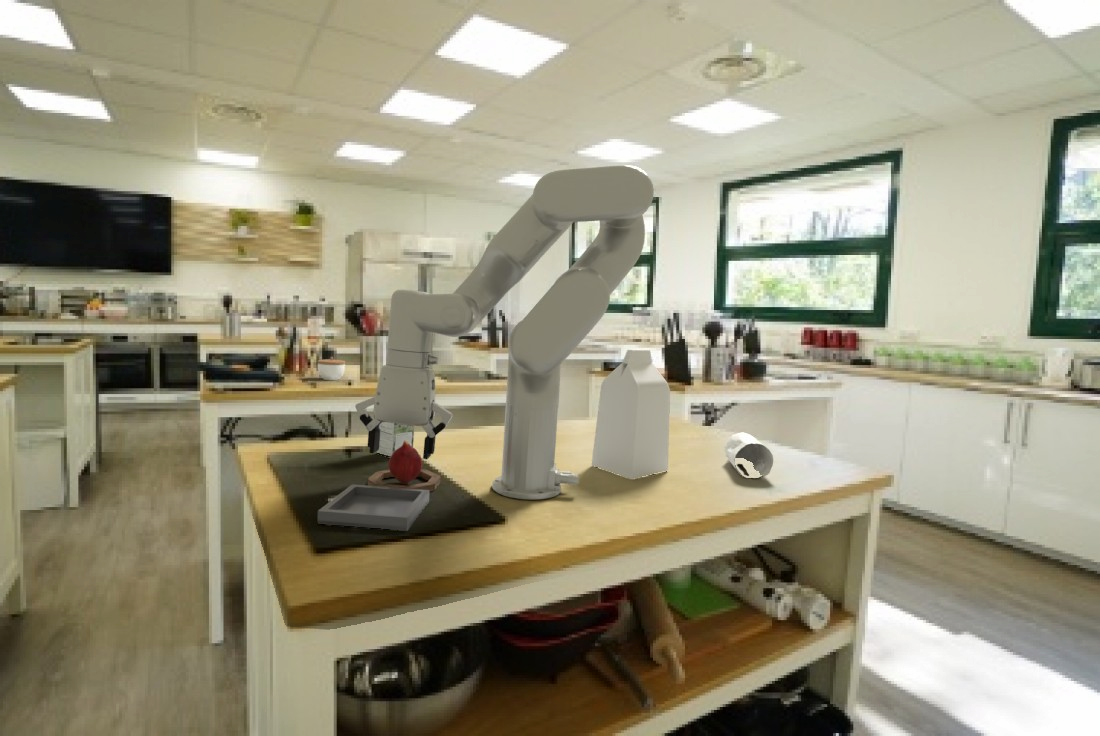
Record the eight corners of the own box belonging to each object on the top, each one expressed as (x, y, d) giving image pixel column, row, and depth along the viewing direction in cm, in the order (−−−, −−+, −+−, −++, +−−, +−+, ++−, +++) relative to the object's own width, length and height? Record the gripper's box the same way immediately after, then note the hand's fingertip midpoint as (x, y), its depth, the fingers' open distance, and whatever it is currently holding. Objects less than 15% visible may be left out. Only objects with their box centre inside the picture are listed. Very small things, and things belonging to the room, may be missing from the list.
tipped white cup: (751, 460, 140) (754, 428, 139) (771, 481, 121) (775, 445, 120) (718, 457, 141) (721, 425, 140) (733, 478, 122) (736, 441, 121)
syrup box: (396, 449, 127) (398, 385, 126) (414, 454, 124) (416, 388, 123) (374, 453, 123) (377, 387, 121) (392, 459, 119) (395, 390, 118)
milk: (631, 479, 116) (641, 352, 113) (591, 466, 124) (600, 347, 122) (667, 471, 124) (678, 352, 121) (627, 459, 132) (636, 347, 130)
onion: (427, 483, 105) (429, 440, 104) (407, 491, 99) (409, 446, 99) (402, 477, 107) (404, 435, 106) (381, 485, 102) (382, 441, 101)
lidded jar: (312, 378, 234) (312, 355, 233) (336, 377, 242) (337, 355, 241) (325, 381, 227) (326, 358, 226) (350, 380, 235) (350, 357, 234)
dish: (429, 501, 95) (429, 490, 94) (407, 531, 82) (407, 517, 81) (351, 496, 95) (351, 484, 95) (317, 524, 82) (317, 511, 82)
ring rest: (444, 477, 109) (445, 471, 109) (429, 496, 97) (430, 490, 97) (382, 472, 109) (382, 466, 109) (360, 491, 97) (360, 484, 97)
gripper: (460, 363, 105) (452, 454, 106) (367, 353, 105) (360, 444, 107) (452, 367, 97) (443, 465, 99) (352, 356, 98) (345, 454, 99)
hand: (400, 454), depth 103 cm, fingers open, 9 cm apart
